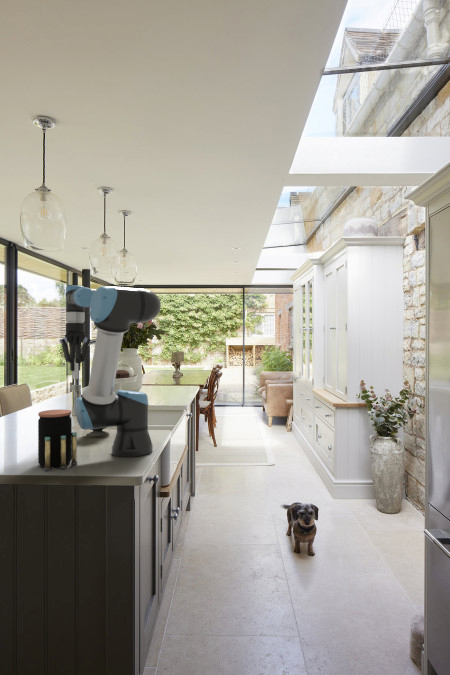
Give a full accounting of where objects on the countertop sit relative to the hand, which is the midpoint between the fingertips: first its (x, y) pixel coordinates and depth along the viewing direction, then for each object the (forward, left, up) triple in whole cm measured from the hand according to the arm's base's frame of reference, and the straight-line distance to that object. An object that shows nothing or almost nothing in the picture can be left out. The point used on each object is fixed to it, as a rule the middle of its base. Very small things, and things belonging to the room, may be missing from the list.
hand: (75, 378), depth 183 cm
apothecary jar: (+3, -13, -27) cm, 30 cm away
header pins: (-31, +23, -26) cm, 47 cm away
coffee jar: (-25, +22, -27) cm, 43 cm away
